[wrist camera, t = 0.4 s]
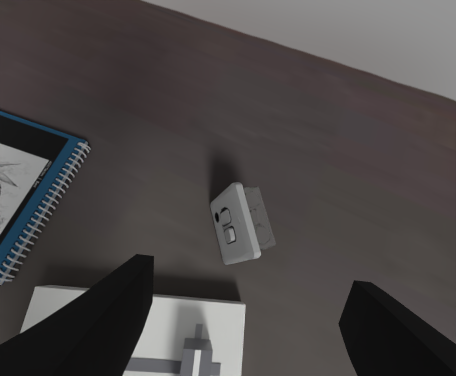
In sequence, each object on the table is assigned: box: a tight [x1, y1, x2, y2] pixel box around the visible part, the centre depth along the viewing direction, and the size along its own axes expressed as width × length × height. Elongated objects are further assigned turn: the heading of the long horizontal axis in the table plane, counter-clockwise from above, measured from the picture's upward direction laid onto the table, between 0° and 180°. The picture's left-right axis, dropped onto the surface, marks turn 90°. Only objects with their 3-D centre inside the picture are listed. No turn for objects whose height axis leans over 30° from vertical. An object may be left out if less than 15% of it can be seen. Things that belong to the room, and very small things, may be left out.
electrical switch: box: [210, 182, 276, 265], centre depth 32 cm, size 9×5×9 cm, turn 14°
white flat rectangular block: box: [20, 285, 245, 376], centre depth 28 cm, size 14×25×3 cm, turn 84°
